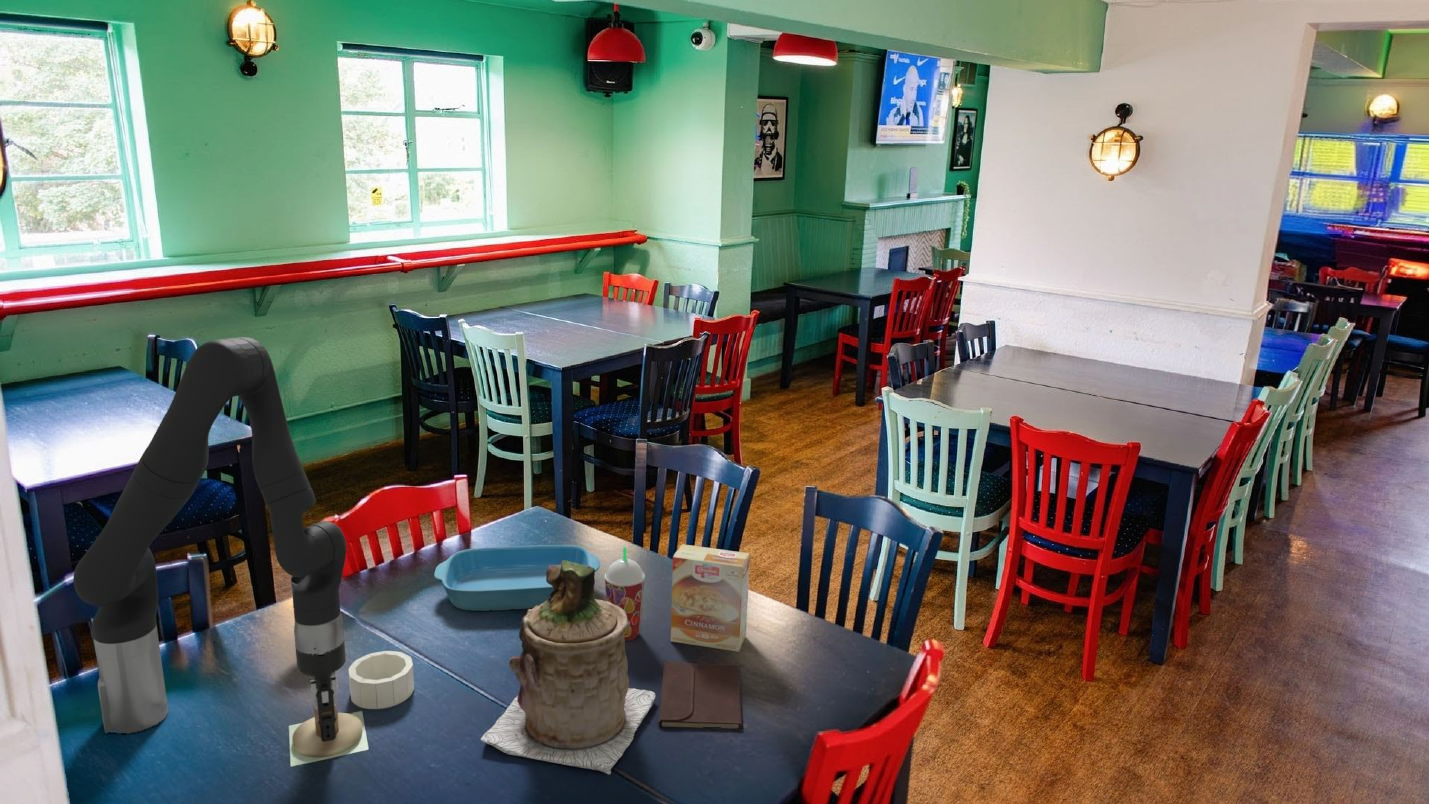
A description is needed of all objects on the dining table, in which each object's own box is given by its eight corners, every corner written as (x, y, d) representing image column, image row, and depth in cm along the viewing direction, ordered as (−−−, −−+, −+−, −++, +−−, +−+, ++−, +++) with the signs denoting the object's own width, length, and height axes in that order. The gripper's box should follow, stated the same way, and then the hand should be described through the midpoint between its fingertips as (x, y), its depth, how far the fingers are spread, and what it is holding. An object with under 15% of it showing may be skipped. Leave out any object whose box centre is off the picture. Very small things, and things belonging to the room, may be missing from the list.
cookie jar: (660, 699, 177) (663, 542, 169) (611, 781, 154) (612, 603, 146) (539, 676, 184) (537, 523, 175) (475, 751, 161) (469, 579, 152)
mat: (291, 770, 154) (290, 766, 154) (289, 729, 164) (288, 725, 164) (368, 753, 159) (368, 749, 159) (362, 714, 169) (362, 710, 169)
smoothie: (646, 626, 203) (648, 541, 198) (640, 646, 195) (641, 557, 190) (608, 623, 204) (609, 538, 199) (600, 643, 196) (600, 554, 191)
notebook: (739, 671, 188) (739, 662, 188) (741, 731, 169) (742, 721, 169) (663, 669, 188) (663, 660, 188) (658, 728, 169) (658, 719, 169)
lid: (293, 764, 154) (290, 730, 153) (292, 726, 164) (289, 695, 162) (365, 748, 159) (362, 716, 157) (359, 713, 169) (357, 682, 167)
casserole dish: (430, 620, 203) (428, 590, 201) (441, 575, 225) (440, 547, 223) (602, 612, 210) (602, 583, 208) (597, 568, 231) (597, 541, 229)
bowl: (353, 718, 168) (351, 688, 167) (348, 686, 178) (346, 657, 176) (417, 705, 173) (416, 676, 171) (409, 674, 182) (408, 646, 181)
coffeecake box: (669, 642, 198) (671, 556, 193) (678, 626, 204) (681, 542, 199) (739, 653, 194) (743, 566, 189) (746, 636, 201) (750, 552, 196)
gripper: (293, 624, 161) (301, 707, 166) (296, 666, 149) (304, 755, 153) (341, 616, 164) (347, 698, 169) (347, 656, 152) (354, 744, 156)
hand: (327, 725), depth 161 cm, fingers open, 8 cm apart
